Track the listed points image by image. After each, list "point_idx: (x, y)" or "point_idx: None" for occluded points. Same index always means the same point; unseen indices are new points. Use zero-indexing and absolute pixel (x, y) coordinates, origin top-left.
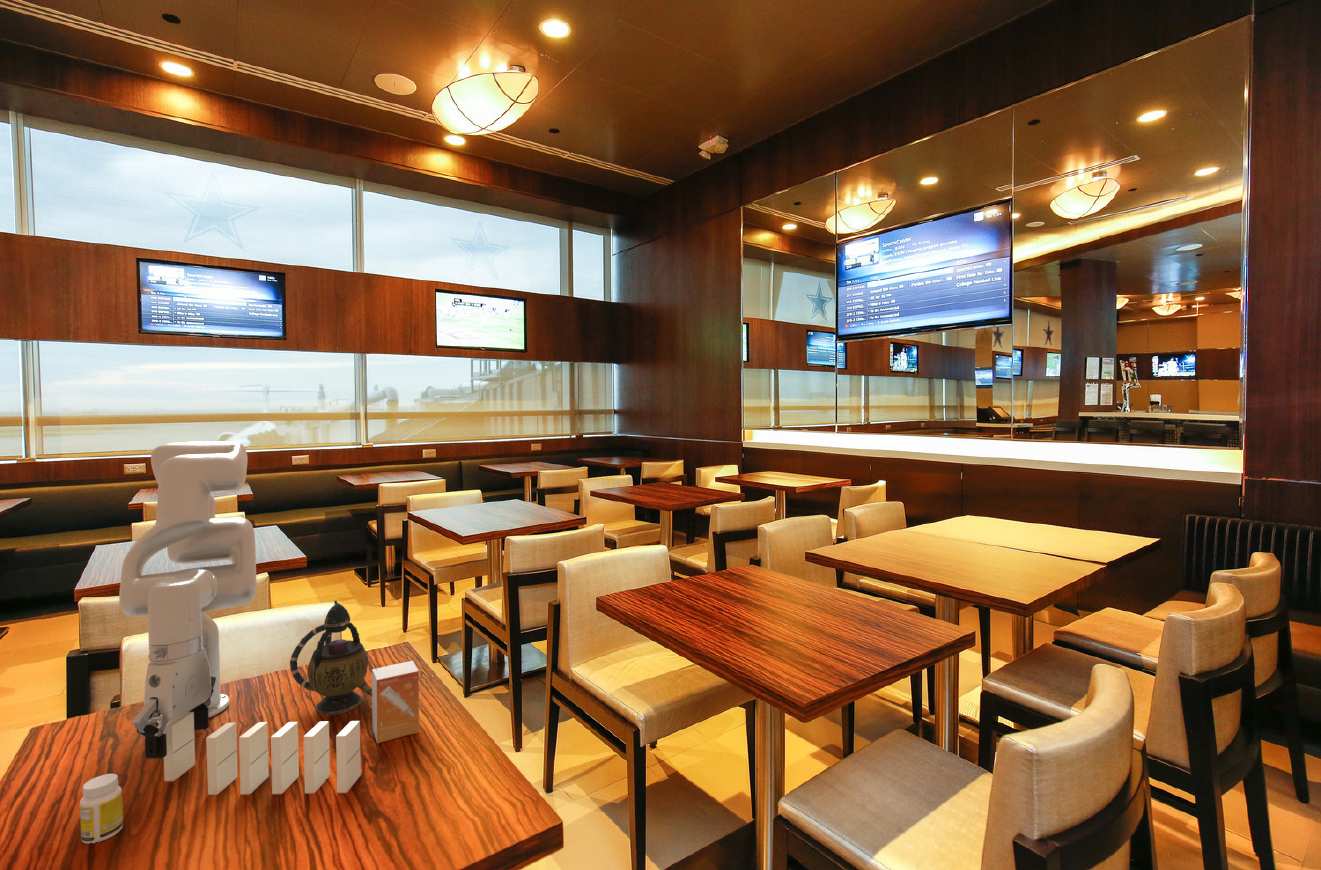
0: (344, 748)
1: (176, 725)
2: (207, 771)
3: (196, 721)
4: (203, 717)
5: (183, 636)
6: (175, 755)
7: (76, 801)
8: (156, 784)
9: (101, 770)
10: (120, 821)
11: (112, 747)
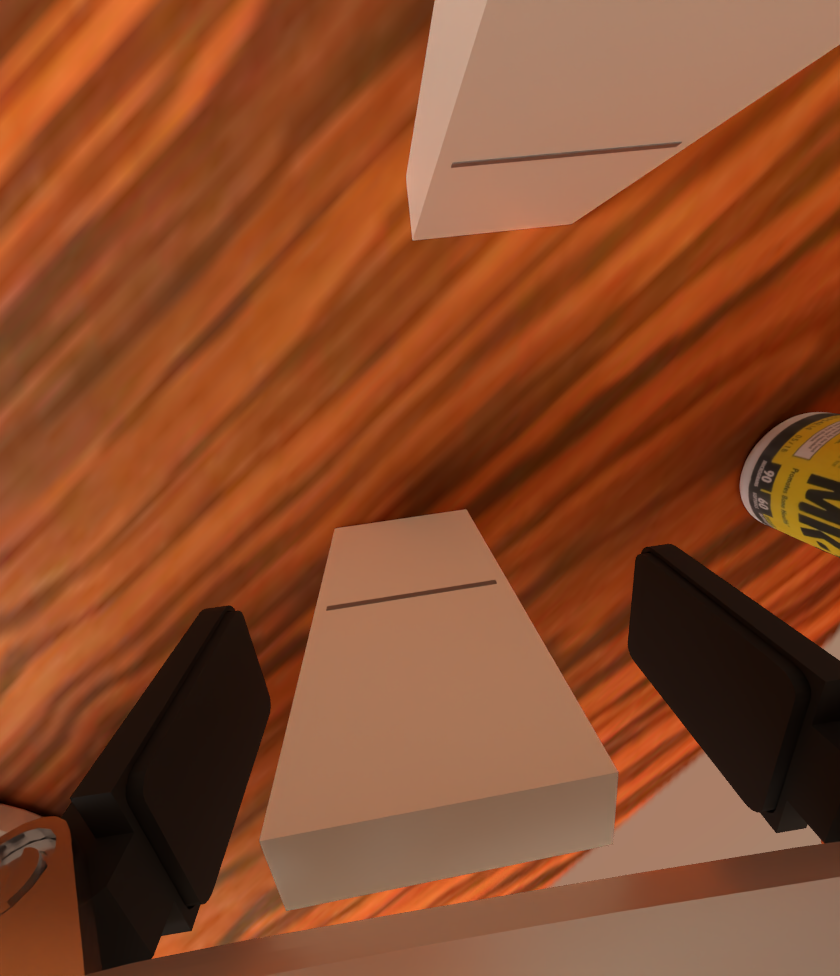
0: None
1: (534, 755)
2: (660, 162)
3: (234, 722)
4: (198, 702)
5: None
6: (479, 569)
7: (590, 718)
8: None
9: None
10: (833, 420)
11: None
